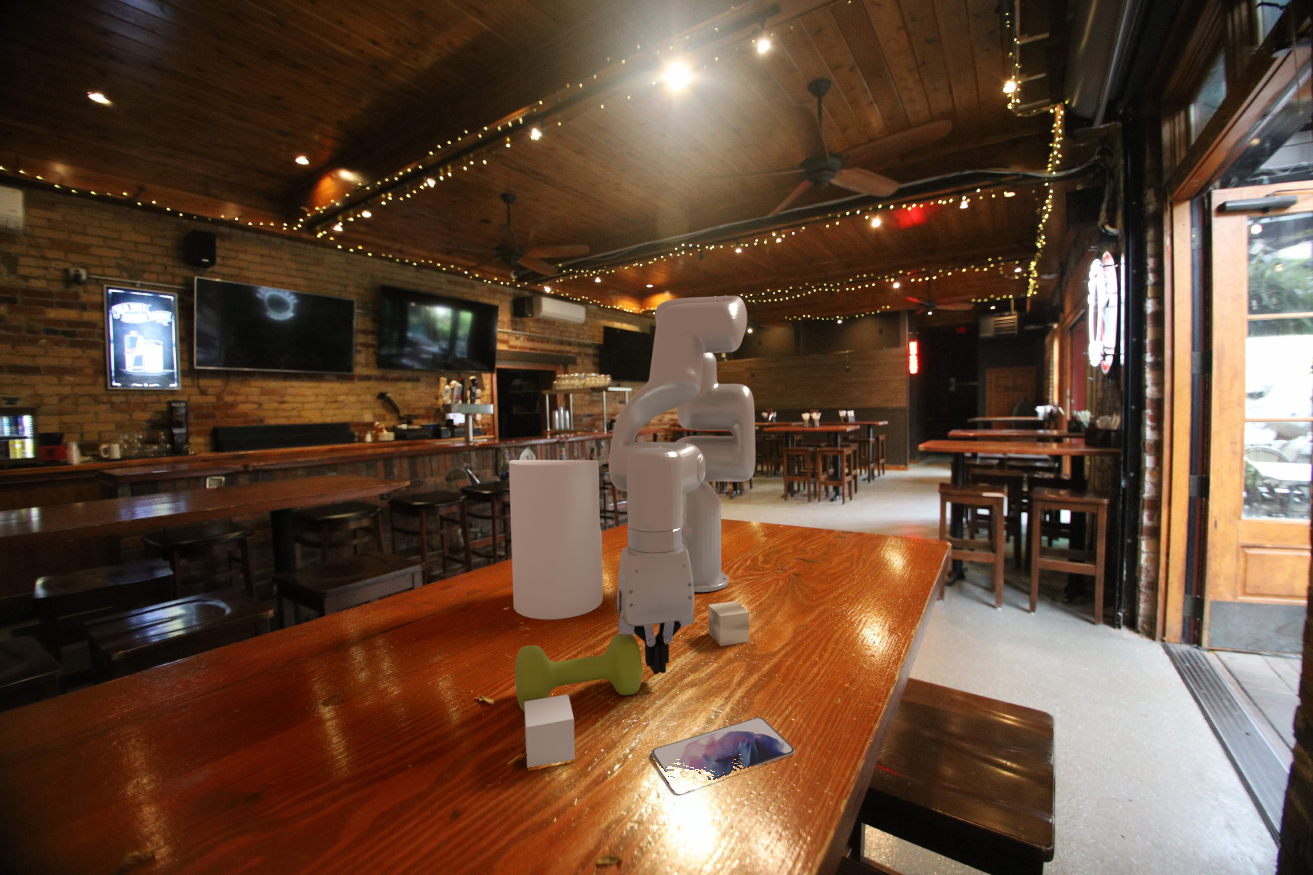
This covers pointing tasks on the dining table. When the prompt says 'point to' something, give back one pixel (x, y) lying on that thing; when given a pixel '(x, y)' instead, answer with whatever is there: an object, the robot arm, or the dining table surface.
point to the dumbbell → (578, 669)
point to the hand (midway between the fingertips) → (657, 668)
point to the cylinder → (555, 537)
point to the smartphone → (726, 749)
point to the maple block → (728, 623)
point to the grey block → (549, 731)
